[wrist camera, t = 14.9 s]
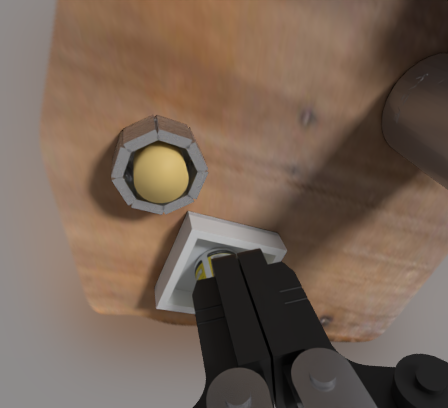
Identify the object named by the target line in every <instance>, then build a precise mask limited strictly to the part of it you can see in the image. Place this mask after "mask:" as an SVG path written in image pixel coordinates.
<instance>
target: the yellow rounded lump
mask: <svg viewBox="0 0 448 408" xmlns="http://www.w3.org/2000/svg"><path fill="white" fill-rule="evenodd" d="M133 172H134V186H135V188H136V190H137V192H138V193H139V194H140V195H141V196H142V197H143V198H144V199H146V200H148V201H151V202H154V203H167V202H170V201H173V200H175V199H177V198H178V197H180V196H181V195H182V194H183V193H184V191H185V190H186V188H187V185H188V181H189V176H188V172H187V168H186V164H185V161H184V157H183V154H182V152H181V150H180V148H179V147H178V146H176V145H173V144H170V143H166V142H163V141H160V140H157V141H155V142H153V143H150V144H148V145H146V146H144V147H142V148H140V149H137V150H136V152H135V154H134V158H133Z"/></svg>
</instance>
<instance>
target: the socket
mask: <svg viewBox="0 0 448 408" xmlns="http://www.w3.org/2000/svg"><path fill="white" fill-rule="evenodd" d="M157 140H160V141H163V142H166V143H170V144H173V145H176V146H178V147H179V148H180V150H181V152H182V154H183V157H184V161H185V164H186V168H187V172H188V176H189V181H188V185H187V188H186V190H185V191H184V193H183V194H182V195H181V196H180V197H178V198H177V199H175V200H173V201H170V202H167V203H154V202H151V201H148V200H146V199H144V198H143V197H142V196H141V195H140V194H139V193H138V192H137V190H136V188H135V186H134V172H133V158H134V154H135V152H136V150H137V149H140V148H142V147H144V146H146V145H148V144H150V143H153V142H155V141H157ZM207 170H208V167H207V165H206V162H205V159H204V157H203V154H202V152H201V150H200V148H199V145H198V143H197V141H196V139H195V137H194V135H193V133H192V131H191V129H190V127H189V128H188V126H187V125H186V124H183V123H180V122H177V121H174V120H171V119H168V118H165V117H162V116H159V115H156V118H154V116H153V115H152V116H149V117H147V118H145V119H143V120H141V121H139V122H136V123H134V124H132V125H130V126H128V127H126V128H123V132H122V131H121V133H120V136H119V139H118V142H117V146H116V149H115V152H114V155H113V159H112V170H111V177H112V182H113V183H114V185H115V186H116V188H117V189H118V191H119V192H120V194H121V195H122V197H123V198H124V200H125V201H126V203H127V204H128V205H131V208H135V209H140V210H144V211H148V212H152V213H157V214H161V215H162V214H163V211H164V212H165V214H168V213H170V212H172V211H174V210H177V209H179V208H181V207H183V206H185V205H188V204H190V203H192V202H194V200H193V198H194V199H197V197H198V195H199V192H200V190H201V188H202V186H203V183H204V181H205V179H206V177H207V174H208V171H207Z"/></svg>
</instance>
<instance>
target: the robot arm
mask: <svg viewBox="0 0 448 408" xmlns="http://www.w3.org/2000/svg"><path fill="white" fill-rule="evenodd" d="M382 131H383V134H384V137H385V140H386V141H387V143H388V144H389V145H390V147H392V148H393V149H394V150H395V151H397V152H398V153H399V154H401V155H402V156H403V157H405V158H406V159H407V160H409V161H410V162H411V163H413V164H414V165H415V166H417V167H418V168H419V169H420V170H422V171H423V172H425V173H426V174H427V175H429V176H430V177H431V178H433V179H434V180H435V181H437V182H438V183H439V184H441V185H442V186H444V187H445V188H446V189H448V53H441V54H437V55H433V56H430V57H428V58H426V59H424V60H422V61H420V62H419V63H417V64H416V65H414V66H413V67H412V68H410V69H409V70H408V71H407V72H406V73H405V74H404V75H403V76H402V77H401V78H400V79H399V81H398V82H397V83H396V85H395V86H394V87H393V89H392V91H391V93H390V94H389V96H388V98H387V100H386V103H385V107H384V110H383V115H382ZM211 265H212V271H213V276H214V277H210V278H205V279H201V280H197V281H196V284H195V287H194V290H193V294H192V298H193V304H194V310H195V315H196V321H197V327H198V333H199V338H200V344H201V350H202V356H203V361H204V367H205V373H206V384H205V388H204V391H203V394H202V396H201V398H200V399H199V401H198V402H197V403H196V405H195V406H194V407H193V408H274V404H275V407H276V408H448V363H447V362H445V361H443V360H441V359H439V358H437V357H434V356H430V355H426V354H412V355H409V356H406V357H404V358H403V359H402V360H400V361H399V362H398V364H397V365H396V367H381V366H368V365H362V364H358V363H355V362H352V361H350V360H348V359H346V358H345V357H343V356H342V355H341V354H339V353H338V352H337V351H336V350H335V349H334V347H333V346H332V345H331V343H330V341H329V339H328V337H327V335H326V333H325V331H324V329H323V327H322V325H321V323H320V321H319V319H318V317H317V315H316V313H315V311H314V309H313V307H312V305H311V304H310V302H309V300H308V299H307V296H306V294H305V292H304V290H303V288H302V287H301V284H300V282H299V280H298V278H297V276H296V274H295V272H294V271H293V270H292V269H290V268H289V267H288V266H287V265H285V264H284V263H283V262H282V261H280V262H276V263H272V264H267V261H266V259H265V257H264V255H263V252H262V250H261V249H260V248H258V249H253V250H248V251H244V252H239V253H236V256H235V254H231V255H226V256H222V257H217V258H213V259H211Z"/></svg>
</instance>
